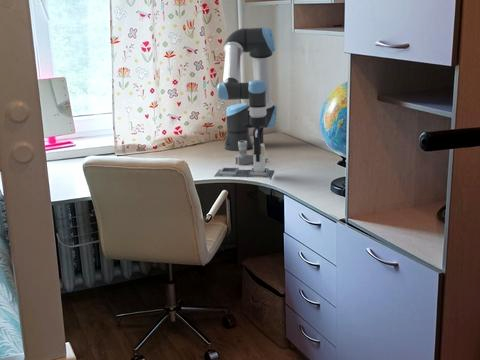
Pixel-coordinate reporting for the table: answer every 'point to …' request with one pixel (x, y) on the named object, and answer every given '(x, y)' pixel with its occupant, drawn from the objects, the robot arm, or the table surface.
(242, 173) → the panel
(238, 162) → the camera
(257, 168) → the plug
